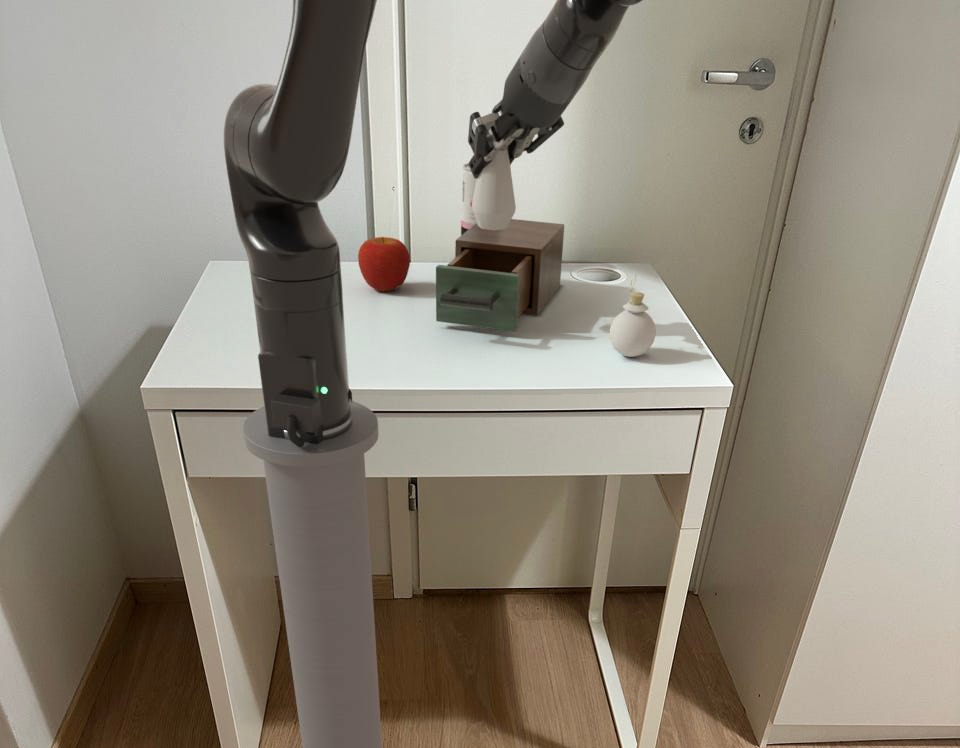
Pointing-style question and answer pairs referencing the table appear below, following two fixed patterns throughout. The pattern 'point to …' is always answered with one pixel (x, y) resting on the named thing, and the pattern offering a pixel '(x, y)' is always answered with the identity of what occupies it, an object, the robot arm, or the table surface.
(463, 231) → the beverage can
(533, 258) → the drawer
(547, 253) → the cabinet
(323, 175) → the robot arm
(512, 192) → the salt shaker
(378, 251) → the apple
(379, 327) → the table surface
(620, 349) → the ornament
